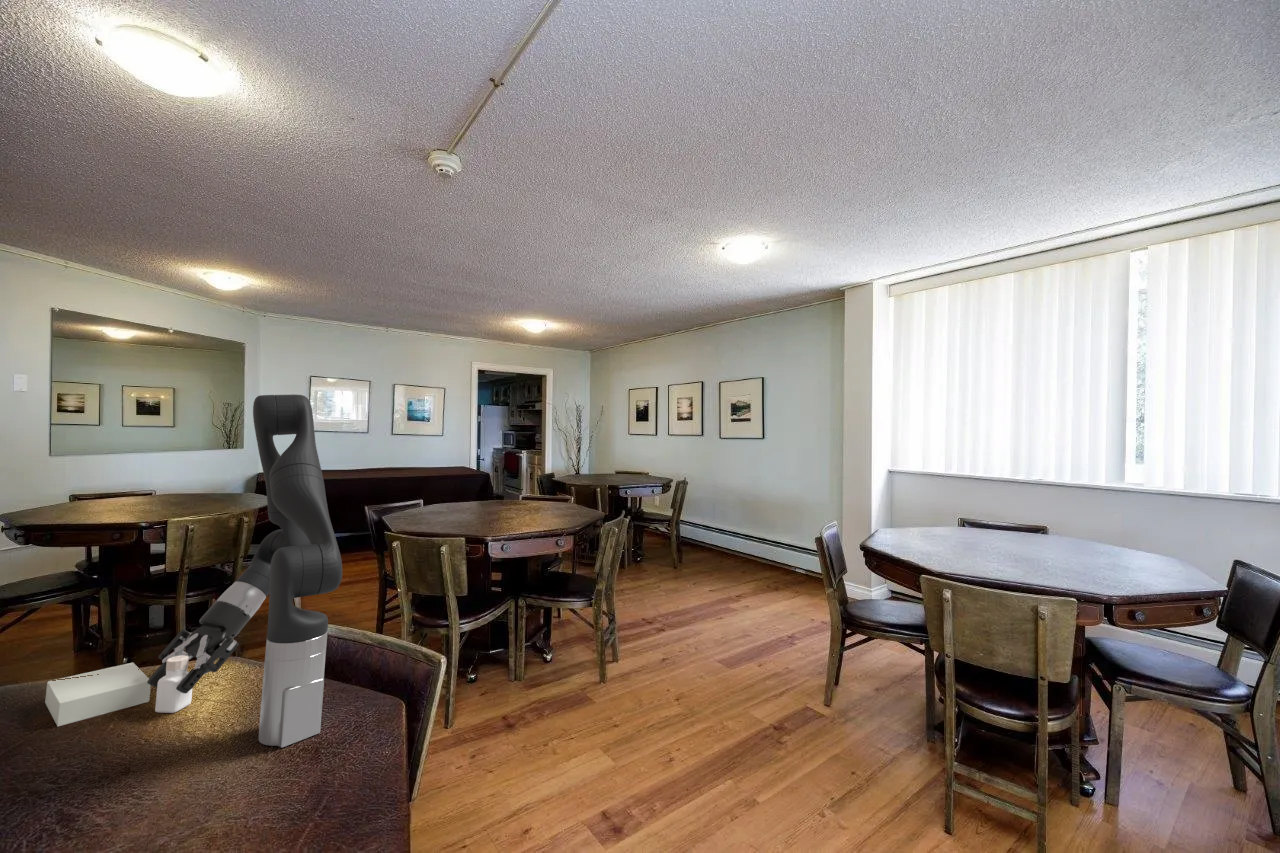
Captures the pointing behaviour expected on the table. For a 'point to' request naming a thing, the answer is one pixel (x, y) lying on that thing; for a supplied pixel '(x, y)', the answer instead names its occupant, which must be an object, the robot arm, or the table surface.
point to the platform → (96, 693)
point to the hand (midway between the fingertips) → (166, 688)
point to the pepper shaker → (173, 686)
